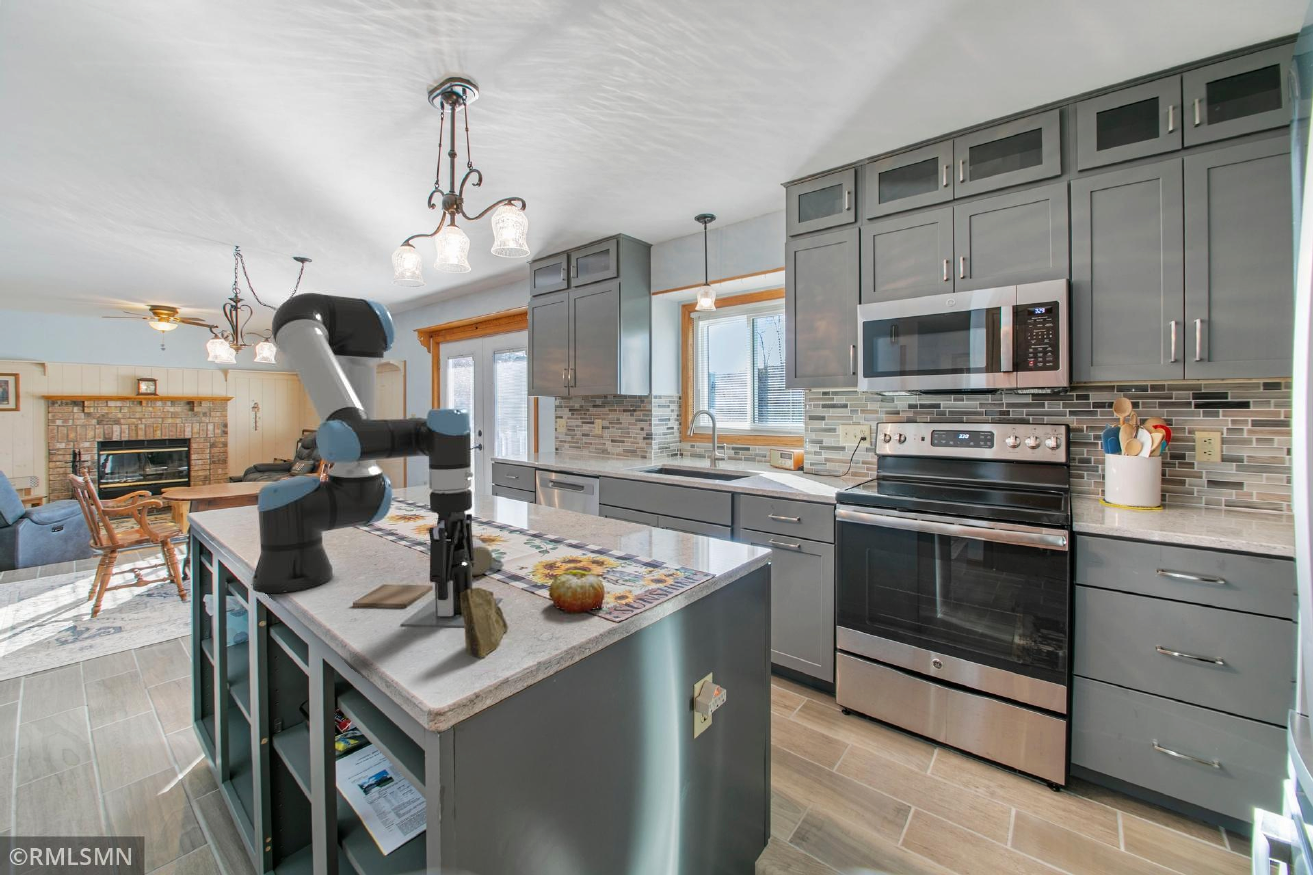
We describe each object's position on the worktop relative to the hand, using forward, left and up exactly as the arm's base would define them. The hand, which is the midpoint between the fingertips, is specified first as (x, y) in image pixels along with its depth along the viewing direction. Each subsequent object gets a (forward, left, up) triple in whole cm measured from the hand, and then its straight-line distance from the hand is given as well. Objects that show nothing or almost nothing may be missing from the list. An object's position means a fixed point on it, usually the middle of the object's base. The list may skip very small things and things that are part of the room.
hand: (454, 607), depth 107 cm
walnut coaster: (-16, +7, -1) cm, 17 cm away
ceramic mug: (-5, +26, -1) cm, 26 cm away
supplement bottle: (0, 0, -1) cm, 1 cm away
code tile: (0, 0, -1) cm, 1 cm away
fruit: (+23, +5, -1) cm, 24 cm away
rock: (+12, -13, -1) cm, 17 cm away
